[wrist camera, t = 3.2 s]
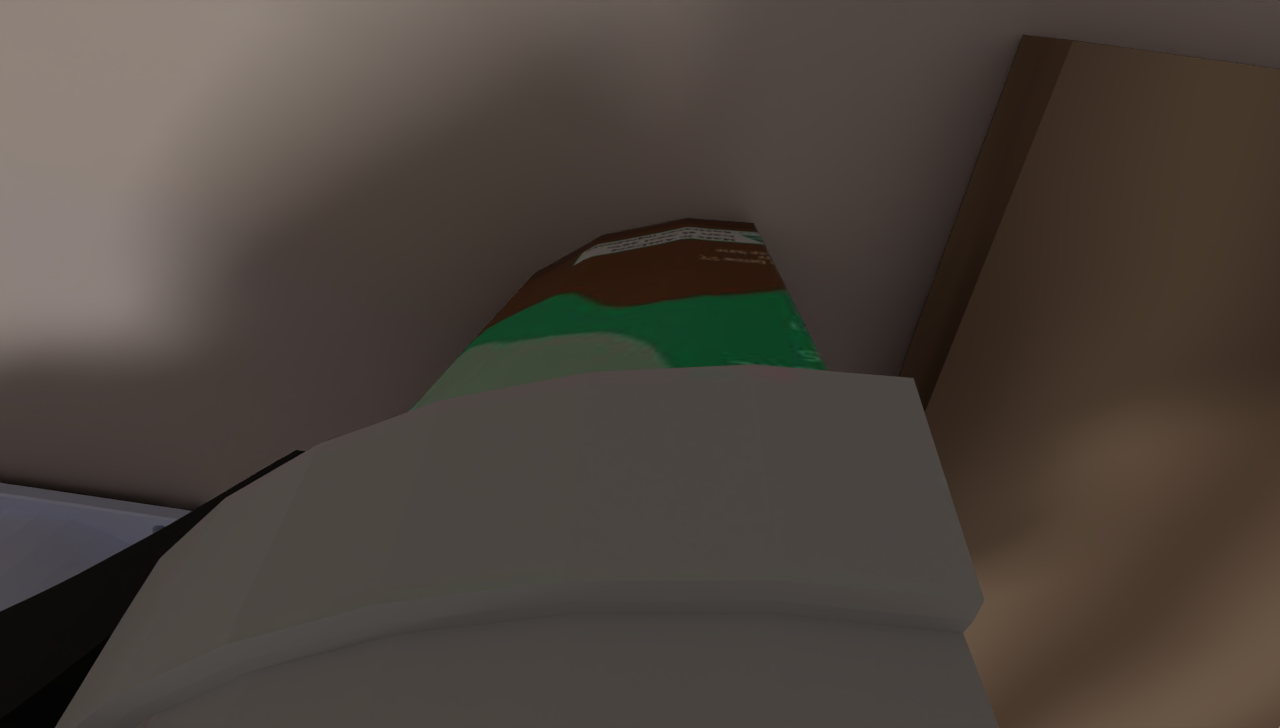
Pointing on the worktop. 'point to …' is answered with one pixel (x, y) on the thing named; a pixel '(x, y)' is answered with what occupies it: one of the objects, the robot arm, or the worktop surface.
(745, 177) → the worktop surface
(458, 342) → the worktop surface
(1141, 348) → the walnut base
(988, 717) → the food container
